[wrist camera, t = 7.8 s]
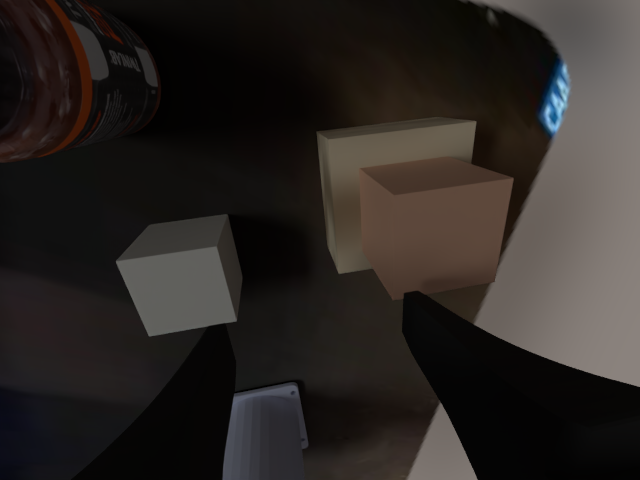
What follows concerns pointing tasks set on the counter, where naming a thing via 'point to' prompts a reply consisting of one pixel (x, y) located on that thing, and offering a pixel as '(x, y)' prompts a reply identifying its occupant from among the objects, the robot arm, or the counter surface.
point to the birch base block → (373, 150)
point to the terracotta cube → (433, 224)
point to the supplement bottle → (70, 78)
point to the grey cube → (184, 274)
